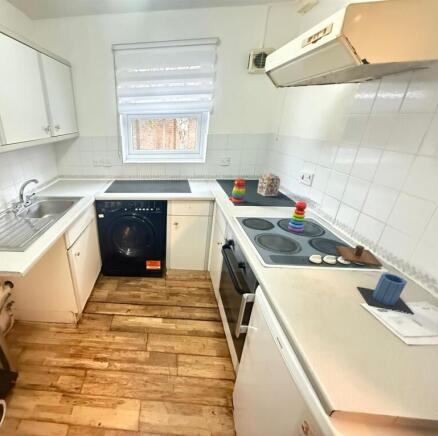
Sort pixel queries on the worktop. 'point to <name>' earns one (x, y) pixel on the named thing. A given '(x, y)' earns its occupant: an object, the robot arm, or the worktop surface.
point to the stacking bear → (238, 191)
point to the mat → (371, 301)
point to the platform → (357, 259)
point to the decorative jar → (268, 185)
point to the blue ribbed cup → (389, 289)
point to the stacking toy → (298, 217)
